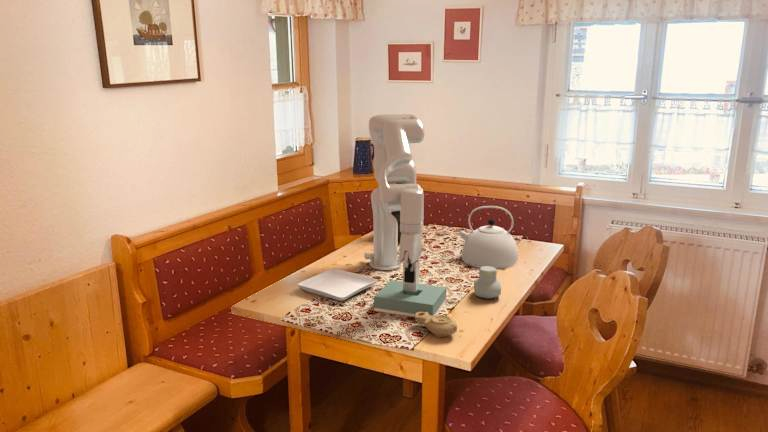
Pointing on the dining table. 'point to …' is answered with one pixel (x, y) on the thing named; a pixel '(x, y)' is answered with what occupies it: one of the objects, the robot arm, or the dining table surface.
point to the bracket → (415, 285)
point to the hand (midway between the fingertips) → (411, 279)
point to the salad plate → (336, 284)
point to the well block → (409, 299)
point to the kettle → (489, 245)
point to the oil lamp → (437, 323)
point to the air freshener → (487, 283)
